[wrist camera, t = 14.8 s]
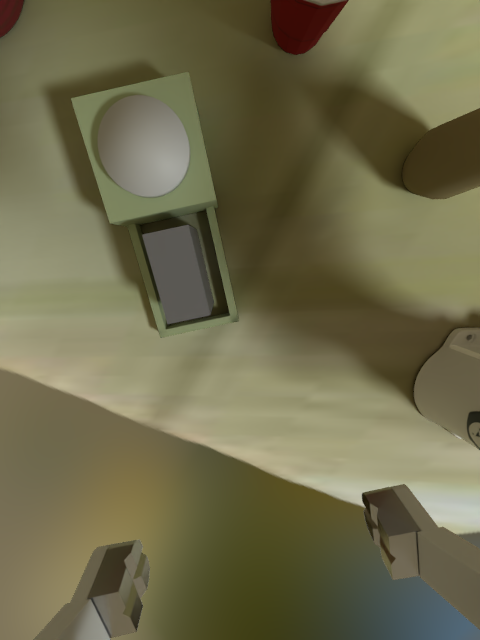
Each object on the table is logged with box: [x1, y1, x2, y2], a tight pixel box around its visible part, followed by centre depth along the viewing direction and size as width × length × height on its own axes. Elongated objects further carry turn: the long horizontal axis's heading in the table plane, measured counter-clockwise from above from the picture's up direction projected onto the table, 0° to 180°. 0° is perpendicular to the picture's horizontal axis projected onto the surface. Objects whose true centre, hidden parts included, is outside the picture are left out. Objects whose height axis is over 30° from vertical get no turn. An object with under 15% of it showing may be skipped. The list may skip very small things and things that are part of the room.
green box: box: [71, 72, 239, 338], centre depth 33 cm, size 12×27×7 cm, turn 12°
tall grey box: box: [142, 225, 214, 324], centre depth 34 cm, size 5×10×8 cm, turn 12°
